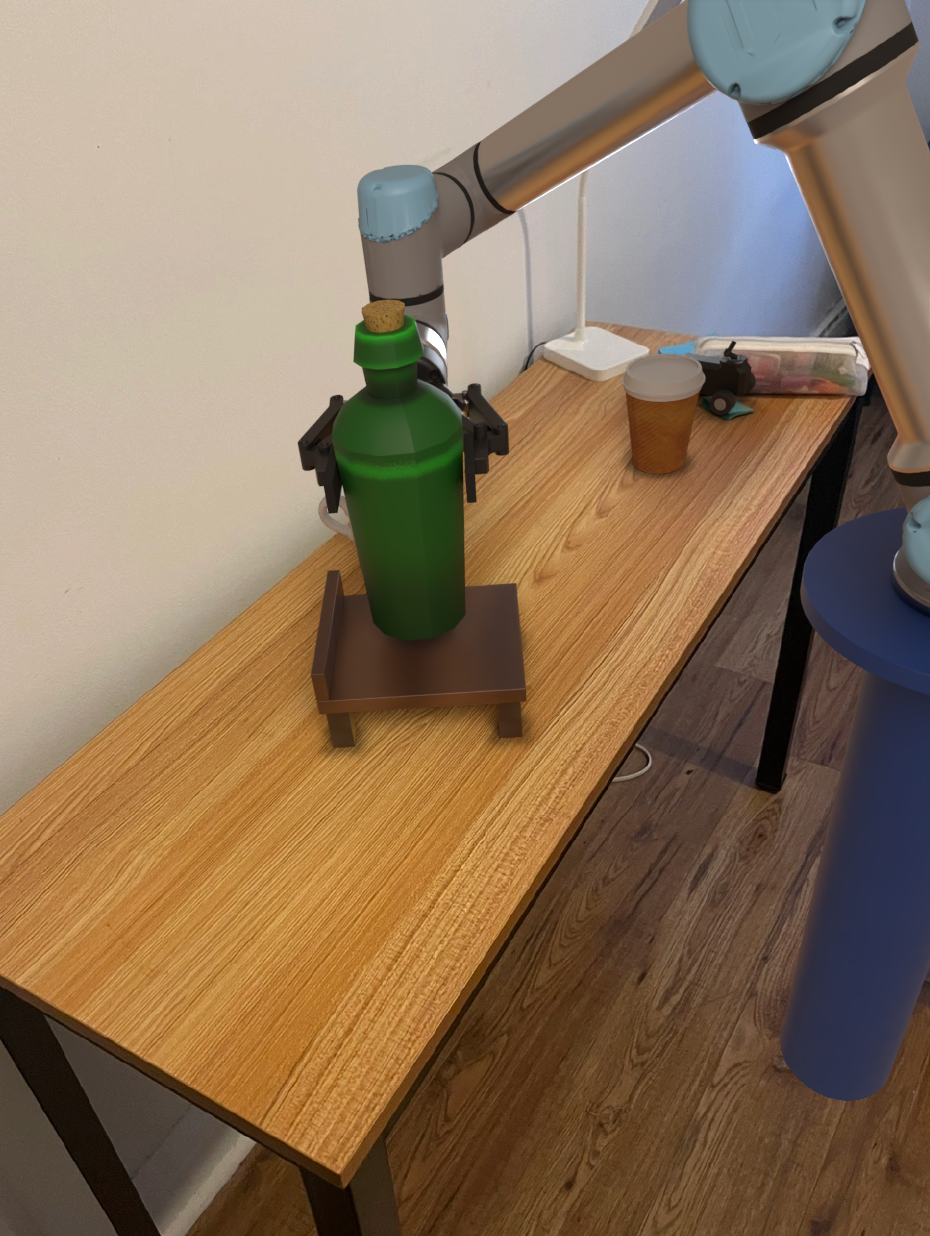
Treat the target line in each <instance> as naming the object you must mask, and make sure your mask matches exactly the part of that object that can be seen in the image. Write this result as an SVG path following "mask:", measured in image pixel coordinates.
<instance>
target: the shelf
mask: <svg viewBox="0 0 930 1236" xmlns="http://www.w3.org/2000/svg"><path fill="white" fill-rule="evenodd" d="M520 619H521V618H520V609H519V597H518V587H517V583H516V582H509V583H497V584H496V583H495V584H483V585H469V586H465V616H464V618H463V619H462V620H461V621H460V622H459V623H458V625H457V626H456V627H455V628H454V629H453V630H450V631H448V632H446V633H444V634H441V635H439V636H437V637H435V638H431V639H420V640H408V641H407V640H403V639H399V638H395V637H392V636H388V635H385V634H384V633H383V632H382V631H381V630H380V629H379V628H378V627H377V626H376V625H375V624H374V623H373V619H372V615H371V610H370V606H369V601H368V597H367V593H359V594H358V593H357V594H345V591H344V585H343V581H342V574H341V570H340V569H329V570H327V572H326V578H325V585H324V590H323V597H322V603H321V609H320V616H319V622H318V629H317V634H316V635H317V636H316V640H315V647H314V652H313V658H312V665H311V671H310V678H311V682H312V687H313V693H314V697H315V702H316V706H317V710H318V713H319V715H325V716H326V720H327V724H328V729H329V734H330V738H331V743H332V748H333V749H337V748H338V749H339V748H352V747H353V748H354V747H356V741H357V727H356V722H355V717H354V713H364V712H366V713H367V712H380V711H381V712H382V711H396V710H397V711H398V710H411V709H412V710H413V709H415V710H416V709H427V708H429V709H430V708H447V707H460V706H461V707H462V706H478V705H493V704H494V705H495V704H496V705H497V717H498V718H497V719H498V731H499V733H498V735H499V739H504V738H505V739H507V738H508V739H510V738H522V737H523V723H522V703H525V702H527V701H528V700H527V684H526V682H527V681H526V674H525V662H524V651H523V640H522V632H521V631H522V630H521V620H520Z"/></svg>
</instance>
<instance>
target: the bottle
mask: <svg viewBox="0 0 930 1236" xmlns="http://www.w3.org/2000/svg"><path fill="white" fill-rule="evenodd" d="M404 308H405V303H403V302H401V301H398V300H381V301H375V302H372V303H370V302H369V303H366V304H365V305H364V306H362V307H361V316H362V319H363V320H361V321H360V322H358V323H357V324H355V328H354V343H353V361H352V362H353V363H354V364H355V365H357V366H359V367H361V370H362V373H363V378H364V382H365V386H364V387H362V388H361V389H360V390H359V391H357V393H354V395H353V396H351V397H350V398H348V399H347V401H346V402H345V403H344V404H343V405H342V407H341V409H340V411H339V413H338V415H337V417H336V419H335V421H334V423H333V431H332V442H333V447H334V451H335V456H336V460H337V464H338V469H339V473H340V478H341V482H342V490H343V496H344V497H345V500H346V504H347V509H348V513H349V517H350V522H351V526H352V531H353V535H354V539H355V542H354V545H355V549H356V553H357V556H358V561H359V565H360V570H361V574H362V578H363V583H364V587H365V594H367V597H368V601H369V606H370V610H371V615H372V619H373V623H374V624H375V625H376V626H377V627H378V628H379V629H380V630H381V631H382V632H383V633H384V634H385V635H388V636H392V637H395V638H399V639H403V640H407V641H408V640H420V639H431V638H435V637H437V636H439V635H441V634H444V633H446V632H448V631H450V630H453V629H454V628H455V627H456V626H457V625H458V623H459V622H460V621H461V620H462V619H463V618H464V616H465V587H466V562H465V561H466V560H465V559H466V558H465V556H466V555H465V552H466V551H465V500H464V499H465V494H464V493H465V492H464V491H465V489H464V488H465V487H464V452H463V425H462V415H463V414H462V411H461V410H460V409H459V407H458V406H457V405H456V404H455V403H454V401H453V400H452V399H451V398H450V397H449V395H448V394H446V393H444V392H443V391H441V390H439V389H438V388H436V387H434V386H433V385H430V384H428V383H426V382H424V381H421V380H419V379H417V360H418V359H419V358H420V357H422V356H423V355H424V347H423V344H422V340H421V337H420V334H419V331H418V327H417V324H416V321H415V319H414V318H412V317H410V316H408V315H404ZM461 414H462V415H461ZM350 522H349V523H350Z"/></svg>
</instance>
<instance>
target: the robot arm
mask: <svg viewBox="0 0 930 1236" xmlns="http://www.w3.org/2000/svg"><path fill="white" fill-rule="evenodd" d="M906 2H907V1H906V0H684V1H682V2H681V3H679V4H678V5H676V6H675V7H673V8H672V9H671V10H669V11H667V12H666V13H664V14H663V15H662V16H660V17H659V18H657V19H656V20H654V21H653V22H651V23H650V24H648V25H647V26H646V27H644V28H643V29H641V30H640V31H638V32H637V33H635V34H633V35H632V36H631V37H629V38H628V39H626V40H625V41H624V42H622V43H621V44H619V45H618V46H616V47H615V48H613V49H612V50H610V51H609V52H608V53H606V54H604V55H603V56H602V57H600V58H599V59H597V60H596V61H594V62H593V63H591V64H590V65H588V66H587V67H586V68H584V69H583V70H581V71H580V72H579V73H577V74H576V75H574V76H573V77H571V78H570V79H568V80H567V81H565V82H564V83H563V84H561V85H560V86H558V87H556V88H554V89H553V90H552V91H551V92H549V93H548V94H546V95H545V96H543V97H542V98H541V99H539V100H538V101H536V102H535V103H533V104H532V105H530V106H529V107H527V108H525V110H523V111H522V112H520V113H518V114H517V115H516V116H514V117H513V118H511V119H510V120H509V121H507V122H505V123H504V124H503V125H501V126H500V127H498V128H497V129H496V130H494V131H493V132H491V133H489V134H488V135H486V136H485V137H484V138H482V140H480V141H478V142H476V143H475V144H473V145H472V146H470V147H469V148H467V149H466V150H464V151H463V152H461V153H460V154H458V155H457V156H455V157H454V158H452V159H451V160H450V161H447V162H446V163H445V164H443V165H441V166H439V167H438V168H437V169H434V170H433V171H431V170H430V169H429V168H428V167H426V166H423V165H418V164H398V165H397V164H395V165H390V166H386V167H383V168H381V169H374V170H371V171H370V172H369V171H368V173H366V174H364V175H363V176H362V178H360V180H359V181H358V184H357V188H356V195H357V196H356V197H357V210H358V218H357V222H358V223H357V224H358V225H357V226H358V230H359V234H360V240H361V248H362V255H363V256H362V257H363V261H364V262H363V263H364V268H365V275H366V282H367V283H366V284H367V290H368V301H369V303H372V302H375V301H381V300H398V301H401V302H403V303H405V308H404V315H408V316H410V317H412V318H414V319H415V321H416V324H417V327H418V331H419V334H420V337H421V340H422V344H423V347H424V355H423V356H422V357H420V358H419V359H418V360H417V379H419V380H421V381H424V382H426V383H428V384H430V385H433V386H434V387H436V388H438V389H439V390H441V391H443V392H444V393H446V394H448V395H449V397H450V398H451V399H452V400H453V401H454V403H455V404H456V405H457V406H458V407H459V409H460V410H461V415H462V425H463V466H464V481H465V482H464V483H465V494H466V503H467V504H473V503H477V484H476V483H477V481H476V480H477V479H476V475H487V474H488V473H489V472H490V462H489V461H490V460H489V458H490V457H489V456H490V455H491V454H494V455H496V456H500V457H502V456H507V455H509V454H510V436H509V435H510V434H509V424H508V423H507V422H506V420H504V418H503V417H502V416H501V415H500V414H499V413H498V411H497V410H495V408H494V407H493V406H492V405H491V403H490V402H489V401H488V400H487V399H486V397H484V395H483V394H482V384H480V383H477V382H476V383H470V384H468V385H467V389H464V390H462V391H461V392H453V391H452V389H450V388H449V379H448V378H449V372H448V371H449V369H448V368H449V362H448V361H449V359H448V358H449V357H448V340H449V337H450V329H449V327H450V325H449V318H448V317H449V316H448V313H447V311H446V300H445V299H446V297H445V284H444V270H443V269H444V268H443V259H444V258H445V257H447V256H448V255H450V254H452V253H453V252H455V251H456V250H458V249H460V248H461V247H462V246H464V245H465V244H467V243H468V242H471V240H473V239H475V238H476V237H478V236H479V235H482V234H483V233H484V232H487V231H489V229H492V228H493V227H495V226H497V225H498V224H500V223H501V222H503V221H504V220H506V219H508V218H509V217H512V216H513V215H515V214H516V213H517V212H518V211H520V210H521V209H523V208H525V207H527V206H529V205H530V204H532V203H533V202H535V201H537V200H539V199H540V198H541V197H543V196H545V195H547V194H549V193H550V192H552V191H554V190H556V189H557V188H559V187H561V186H562V185H565V184H566V183H568V182H569V181H570V180H572V179H574V178H576V177H578V176H579V175H580V174H582V173H584V172H585V171H587V170H589V169H591V168H592V167H595V166H596V165H598V164H600V163H601V162H602V161H604V160H606V159H608V158H610V157H611V156H613V155H615V154H616V153H618V152H619V151H621V150H623V149H625V148H626V147H628V146H629V145H631V144H633V143H634V142H636V141H639V140H640V139H641V138H643V137H644V136H646V135H648V134H650V133H651V132H653V131H655V130H656V129H658V128H660V127H661V126H663V125H665V124H667V123H669V122H670V121H672V120H673V119H675V118H676V117H678V116H680V115H682V114H684V113H685V112H687V111H689V110H690V109H692V108H694V107H695V106H697V105H699V104H700V103H702V102H704V101H705V100H707V99H708V98H710V97H712V96H714V95H716V94H717V93H719V92H720V93H721V94H723V95H725V96H726V97H728V98H729V99H731V100H735V101H736V102H737V104H738V106H739V109H740V111H741V113H742V117H743V118H744V121H745V123H746V125H747V126H748V129H749V132H750V134H751V136H752V140H753V142H754V144H756V145H759V146H762V147H764V148H765V147H766V148H769V149H772V150H774V151H777V152H780V153H782V154H783V156H784V157H785V159H786V161H787V165H788V166H789V169H790V172H791V174H792V176H793V179H794V181H795V184H796V187H797V188H798V191H799V193H800V196H801V198H802V200H803V203H804V206H805V208H806V211H807V213H808V216H809V218H810V220H811V223H812V225H813V228H814V231H815V233H816V236H817V238H818V241H819V243H820V245H821V248H822V250H823V252H824V255H825V257H826V259H827V262H828V264H829V266H830V269H831V271H832V272H831V273H832V275H833V277H834V279H835V282H836V285H837V287H838V289H839V292H840V294H841V297H842V299H843V302H844V305H845V307H846V309H847V311H848V314H849V316H850V318H851V321H852V324H853V326H854V329H855V331H856V333H857V336H858V338H859V341H860V344H861V346H862V348H863V351H864V353H865V356H866V358H867V361H868V362H869V366H870V368H871V370H872V372H873V373H872V374H873V375H874V378H875V381H876V383H877V385H878V387H879V390H880V393H881V395H882V397H883V400H884V403H885V405H886V408H887V410H888V413H889V415H890V417H891V420H892V422H893V424H894V427H895V429H896V432H897V436H896V438H895V440H894V442H893V443H892V445H891V447H890V449H889V450H888V453H887V456H886V460H887V464H888V467H889V469H890V472H891V474H892V477H893V479H894V482H895V484H896V486H897V489H898V492H899V495H900V497H901V499H902V501H903V504H904V507H906V509H907V512H908V515H907V517H906V519H905V522H904V523H903V527H902V530H903V535H902V538H903V545H902V547H901V548H900V549H899V551H898V552H897V554H896V556H895V559H894V563H893V568H892V572H891V584H892V587H893V589H894V591H895V592H896V594H897V595H898V596H899V597H900V599H901V600H902V601H903V602H905V603H906V604H907V605H908V606H910V607H911V608H913V609H914V610H916V611H917V612H919V613H921V614H923V615H925V616H927V617H929V618H930V147H929V145H928V142H927V140H926V136H925V134H924V131H923V128H922V125H921V123H920V120H919V117H918V115H917V111H916V109H915V106H914V103H913V100H912V98H911V94H910V92H909V89H908V87H907V80H908V76H909V73H910V70H911V68H912V66H913V63H914V61H915V58H916V56H917V54H918V51H919V49H920V47H921V44H920V40H919V38H918V35H917V33H916V29H915V27H914V23H913V20H912V18H911V17H912V16H911V15H910V11H909V9H908V6H907V3H906ZM346 401H348V399H347V400H346V399H344V395H342V394H335V395H332V396H330V397H329V404H328V407H327V408H326V409H325V410H324V411H323V413H321V415H319V417H318V418H317V419H316V420H315V422H314V423H313V424H312V425H311V426H310V427H309V429H307V430H306V432H305V433H303V435H302V436H301V438H299V439H298V440H297V448H298V453H299V457H300V463H301V469H302V471H304V472H310V471H314V472H315V478H316V483H317V485H318V487H320V488H321V487H323V491H324V497H326V503H327V512H328V514H329V515H330V514H338V513H339V508H340V507H339V502H340V496H341V495H342V490H343V486H342V482H341V478H340V473H339V469H338V464H337V460H336V456H335V451H334V447H333V442H332V431H333V423H334V421H335V419H336V417H337V415H338V413H339V411H340V409H341V407H342V405H343V404H344V403H345V402H346Z"/></svg>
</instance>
